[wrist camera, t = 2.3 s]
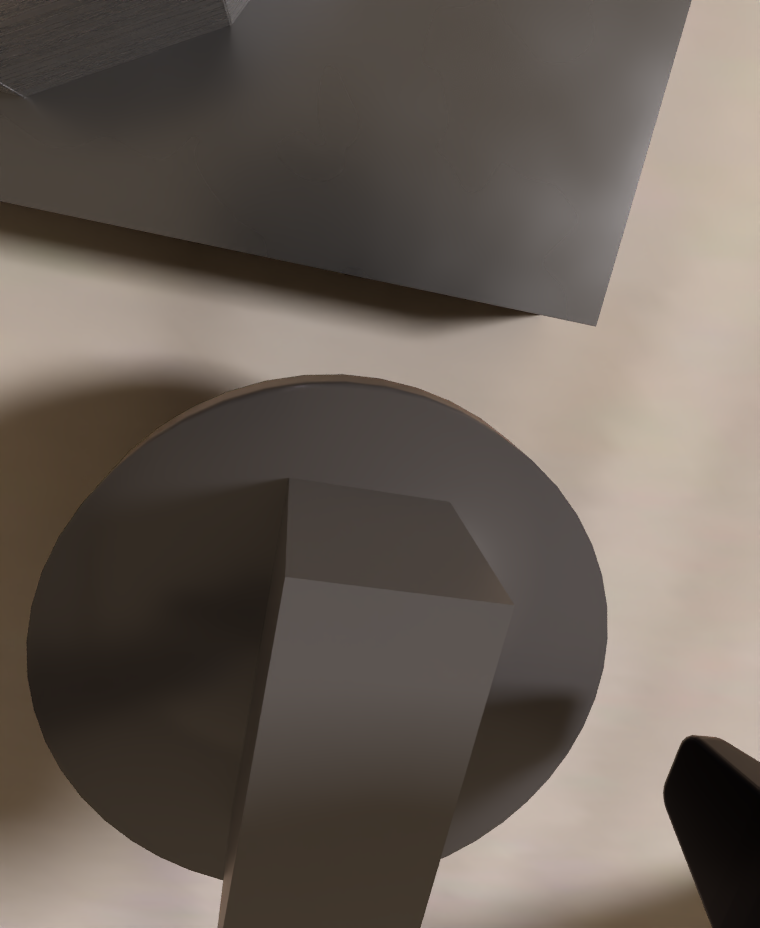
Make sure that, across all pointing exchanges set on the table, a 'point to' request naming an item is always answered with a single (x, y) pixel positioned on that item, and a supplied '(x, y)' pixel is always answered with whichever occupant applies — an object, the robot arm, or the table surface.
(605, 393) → the table surface
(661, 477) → the table surface
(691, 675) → the table surface
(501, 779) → the grip bar knob
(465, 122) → the ring on base plate
